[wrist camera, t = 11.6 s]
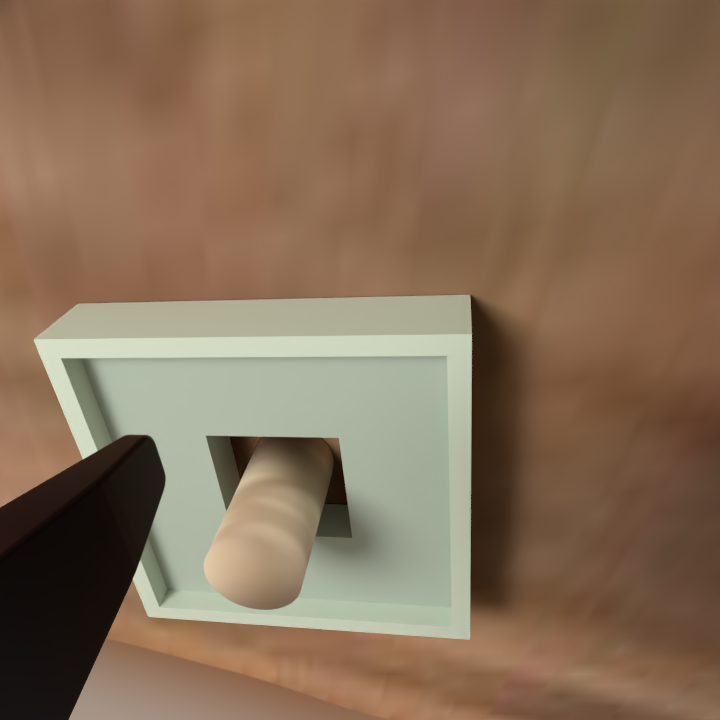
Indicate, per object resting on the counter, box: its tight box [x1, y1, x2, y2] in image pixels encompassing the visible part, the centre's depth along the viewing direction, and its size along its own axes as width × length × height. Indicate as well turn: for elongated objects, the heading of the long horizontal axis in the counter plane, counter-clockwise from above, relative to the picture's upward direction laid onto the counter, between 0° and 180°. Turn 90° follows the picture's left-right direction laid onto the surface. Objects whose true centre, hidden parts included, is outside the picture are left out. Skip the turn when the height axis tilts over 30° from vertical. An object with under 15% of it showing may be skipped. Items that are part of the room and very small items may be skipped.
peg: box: [204, 437, 334, 610], centre depth 24 cm, size 4×4×6 cm
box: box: [33, 295, 472, 640], centre depth 26 cm, size 16×16×3 cm
